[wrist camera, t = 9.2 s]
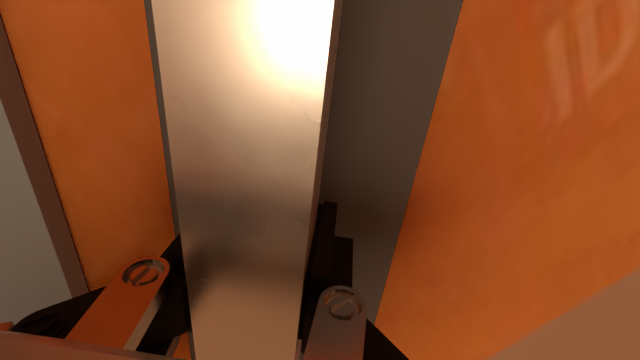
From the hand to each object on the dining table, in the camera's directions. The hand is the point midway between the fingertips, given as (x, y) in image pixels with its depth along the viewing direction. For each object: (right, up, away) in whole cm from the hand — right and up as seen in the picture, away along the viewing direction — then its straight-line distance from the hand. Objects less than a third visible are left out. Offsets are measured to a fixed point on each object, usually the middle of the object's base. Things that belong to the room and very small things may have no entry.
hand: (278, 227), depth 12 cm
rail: (0, -1, -1) cm, 1 cm away
